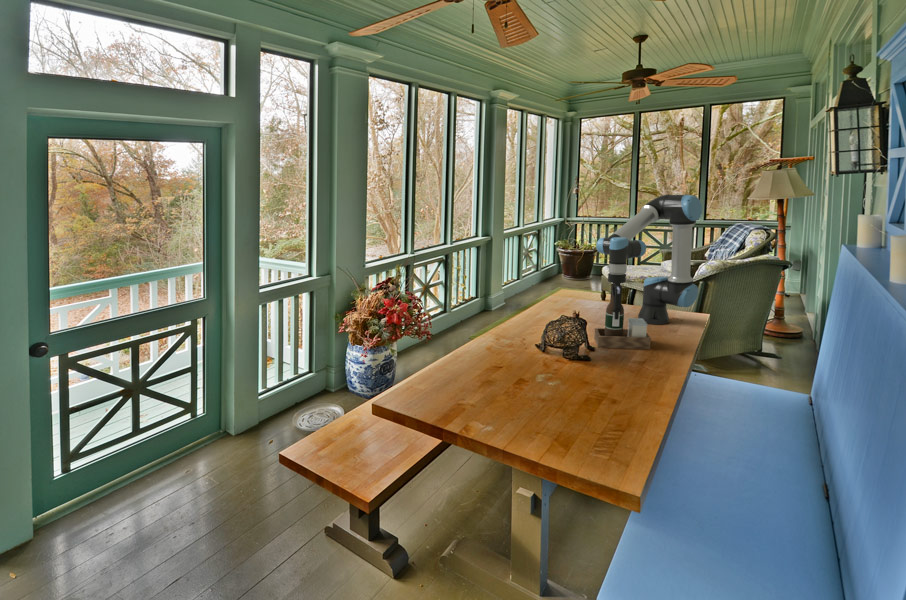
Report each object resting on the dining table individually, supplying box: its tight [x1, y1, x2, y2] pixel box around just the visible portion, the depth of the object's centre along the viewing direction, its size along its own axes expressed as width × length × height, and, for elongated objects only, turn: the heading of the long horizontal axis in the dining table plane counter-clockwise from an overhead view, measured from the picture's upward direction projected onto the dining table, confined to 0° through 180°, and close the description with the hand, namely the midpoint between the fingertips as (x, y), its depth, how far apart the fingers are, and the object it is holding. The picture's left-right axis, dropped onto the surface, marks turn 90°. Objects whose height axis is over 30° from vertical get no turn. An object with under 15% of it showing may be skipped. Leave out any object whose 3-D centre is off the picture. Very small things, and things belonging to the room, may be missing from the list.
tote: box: [593, 327, 652, 350], centre depth 244 cm, size 22×14×5 cm, turn 82°
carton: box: [627, 317, 649, 337], centre depth 243 cm, size 6×10×10 cm, turn 172°
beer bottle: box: [604, 284, 625, 337], centre depth 242 cm, size 8×8×24 cm
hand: (614, 323), depth 244 cm, fingers closed on beer bottle, 8 cm apart
